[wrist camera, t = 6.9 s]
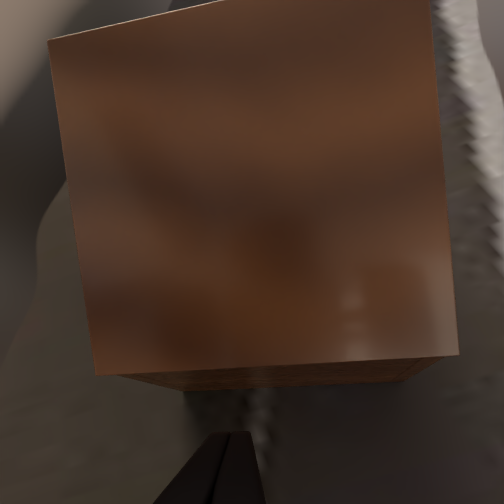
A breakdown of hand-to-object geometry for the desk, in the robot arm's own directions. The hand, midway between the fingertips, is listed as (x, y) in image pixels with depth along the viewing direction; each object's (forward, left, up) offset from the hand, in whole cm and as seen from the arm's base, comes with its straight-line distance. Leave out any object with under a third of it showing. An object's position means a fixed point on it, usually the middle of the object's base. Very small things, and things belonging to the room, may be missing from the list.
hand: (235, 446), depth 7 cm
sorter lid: (+6, -5, -2) cm, 8 cm away
